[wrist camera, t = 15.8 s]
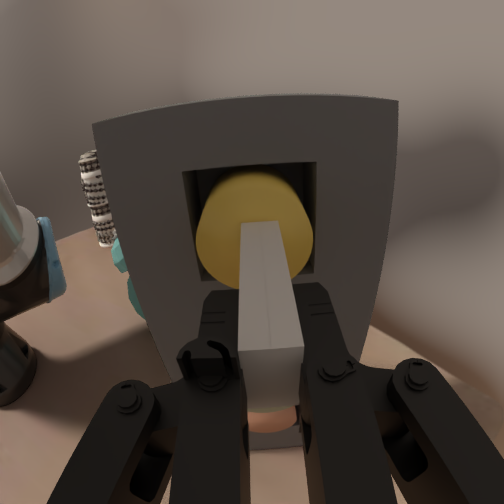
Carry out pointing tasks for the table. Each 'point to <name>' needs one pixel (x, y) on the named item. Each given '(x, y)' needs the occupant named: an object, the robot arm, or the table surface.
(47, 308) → the table surface
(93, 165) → the leaning tower model
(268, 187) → the mustard button
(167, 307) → the button panel
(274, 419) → the terracotta button
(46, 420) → the table surface
